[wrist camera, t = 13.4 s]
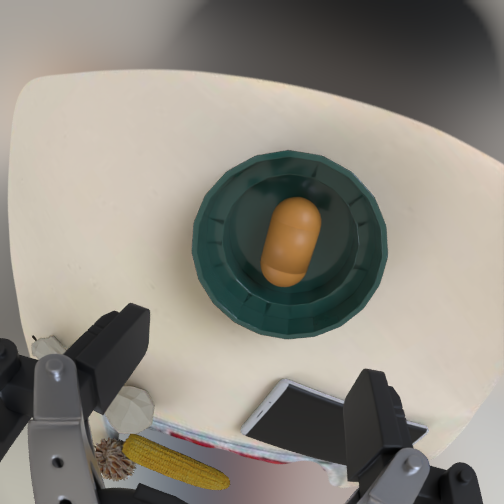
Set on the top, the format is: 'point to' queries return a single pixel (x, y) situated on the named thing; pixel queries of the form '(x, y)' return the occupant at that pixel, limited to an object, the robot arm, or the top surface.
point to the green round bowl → (323, 258)
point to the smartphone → (306, 422)
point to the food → (173, 463)
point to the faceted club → (125, 403)
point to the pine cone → (113, 460)
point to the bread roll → (290, 241)
